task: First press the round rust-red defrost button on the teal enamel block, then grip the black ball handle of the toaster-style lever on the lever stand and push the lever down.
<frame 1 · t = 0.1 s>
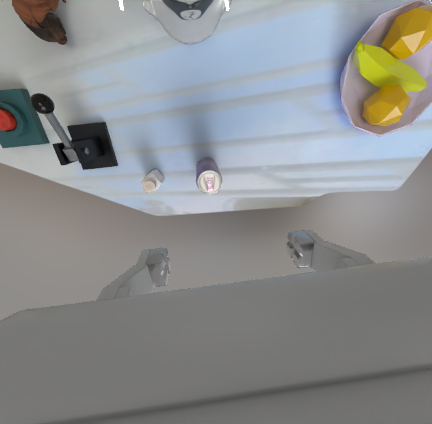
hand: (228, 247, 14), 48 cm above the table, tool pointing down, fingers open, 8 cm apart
fruit bowl: (374, 77, 53), on the table
defrost block: (18, 119, 50), on the table
brown clay jug: (53, 19, 43), on the table
lever stand: (95, 146, 54), on the table
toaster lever: (58, 129, 41), point 12 cm above the table, hinge at 22.0°
beverage can: (206, 167, 59), on the table
pepper shaker: (155, 176, 59), on the table
defrost button: (2, 119, 46), point 4 cm above the table, slide at 0.1 cm
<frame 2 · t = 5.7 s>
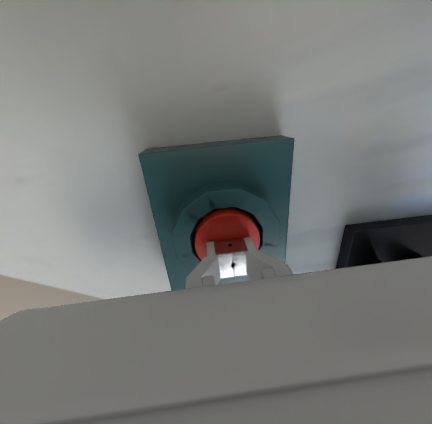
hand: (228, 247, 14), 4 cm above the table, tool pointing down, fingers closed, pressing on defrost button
defrost block: (220, 215, 17), on the table
lever stand: (376, 265, 22), on the table
defrost button: (226, 236, 14), point 3 cm above the table, slide at -0.9 cm, touching gripper
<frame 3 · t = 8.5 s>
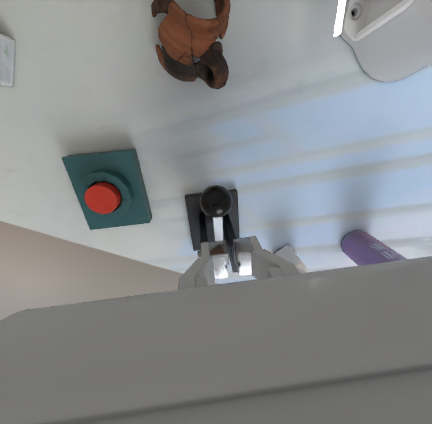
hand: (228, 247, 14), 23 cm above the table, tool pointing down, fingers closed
defrost block: (114, 188, 34), on the table
brown clay jug: (195, 48, 27), on the table
lever stand: (213, 219, 38), on the table
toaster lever: (218, 230, 25), point 12 cm above the table, hinge at 22.0°
beverage can: (352, 241, 43), on the table
pepper shaker: (283, 253, 43), on the table
defrost button: (103, 198, 30), point 4 cm above the table, slide at 0.1 cm
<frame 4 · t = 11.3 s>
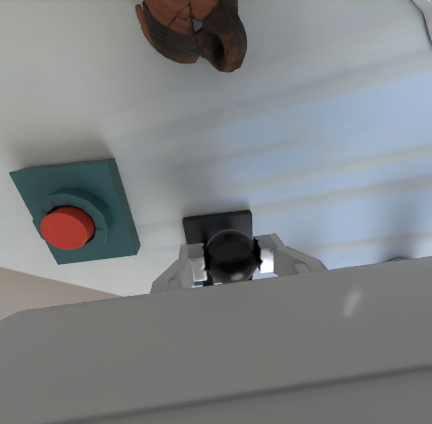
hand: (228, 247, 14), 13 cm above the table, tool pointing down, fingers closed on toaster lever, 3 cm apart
defrost block: (89, 210, 26), on the table
brown clay jug: (196, 13, 19), on the table
lever stand: (220, 247, 30), on the table
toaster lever: (230, 287, 16), point 12 cm above the table, hinge at 22.0°, touching gripper
defrost button: (68, 228, 22), point 4 cm above the table, slide at 0.1 cm
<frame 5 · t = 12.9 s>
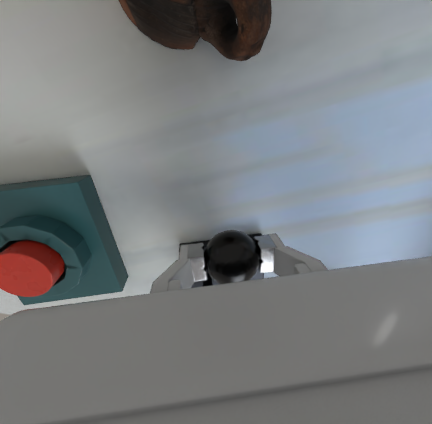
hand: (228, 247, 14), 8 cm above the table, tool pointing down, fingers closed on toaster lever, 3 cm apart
defrost block: (61, 238, 20), on the table
lever stand: (224, 276, 25), on the table
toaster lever: (237, 321, 14), point 10 cm above the table, hinge at -10.0°, touching gripper
defrost button: (28, 268, 16), point 4 cm above the table, slide at 0.1 cm
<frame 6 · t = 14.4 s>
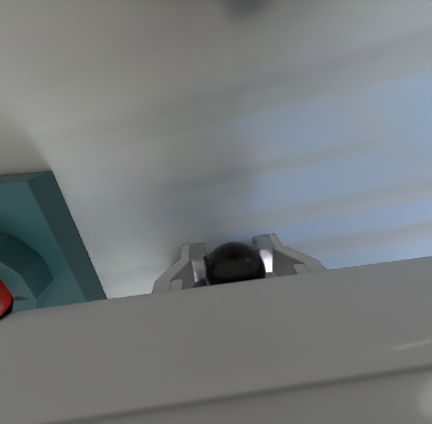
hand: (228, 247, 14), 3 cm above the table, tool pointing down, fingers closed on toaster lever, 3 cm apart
defrost block: (18, 253, 16), on the table
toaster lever: (245, 365, 11), point 8 cm above the table, hinge at -31.9°, touching gripper
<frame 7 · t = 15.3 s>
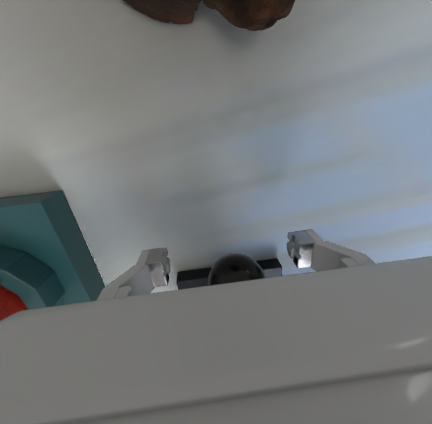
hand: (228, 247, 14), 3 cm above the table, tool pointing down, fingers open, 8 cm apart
defrost block: (30, 267, 17), on the table
lever stand: (232, 308, 20), on the table
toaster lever: (248, 371, 11), point 8 cm above the table, hinge at -29.9°
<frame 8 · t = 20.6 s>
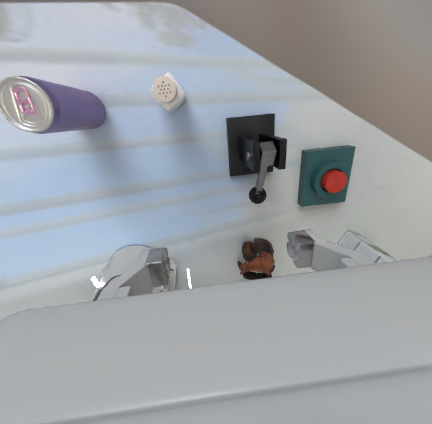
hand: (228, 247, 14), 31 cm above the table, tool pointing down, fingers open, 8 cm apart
defrost block: (321, 175, 45), on the table
brown clay jug: (252, 250, 52), on the table
syrup box: (348, 241, 54), on the table
lever stand: (250, 145, 41), on the table
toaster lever: (261, 177, 36), point 8 cm above the table, hinge at -29.9°
beverage can: (89, 110, 36), on the table
pepper shaker: (172, 96, 37), on the table
defrost button: (333, 181, 41), point 4 cm above the table, slide at 0.1 cm
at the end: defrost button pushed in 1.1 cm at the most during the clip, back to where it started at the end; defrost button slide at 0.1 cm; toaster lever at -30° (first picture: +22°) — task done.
